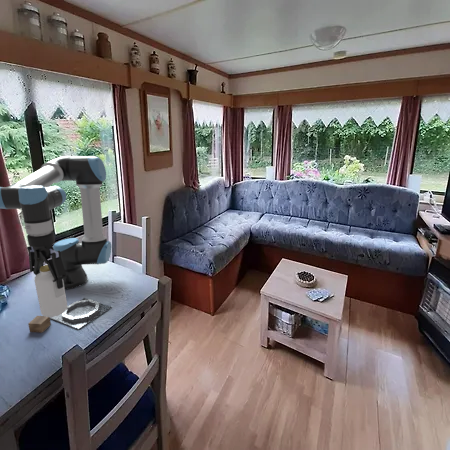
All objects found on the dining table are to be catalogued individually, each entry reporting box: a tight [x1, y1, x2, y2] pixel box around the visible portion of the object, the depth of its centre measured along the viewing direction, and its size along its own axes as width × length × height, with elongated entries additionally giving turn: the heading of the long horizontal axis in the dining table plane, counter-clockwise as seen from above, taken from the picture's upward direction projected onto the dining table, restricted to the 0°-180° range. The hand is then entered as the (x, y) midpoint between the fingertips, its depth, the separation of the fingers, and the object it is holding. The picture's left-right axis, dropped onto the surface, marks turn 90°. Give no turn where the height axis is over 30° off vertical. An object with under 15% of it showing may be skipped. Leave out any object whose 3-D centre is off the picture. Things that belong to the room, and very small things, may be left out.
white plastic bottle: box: [33, 264, 68, 317], centre depth 98 cm, size 8×8×18 cm
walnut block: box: [27, 315, 52, 333], centre depth 108 cm, size 5×5×4 cm
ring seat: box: [50, 297, 113, 331], centre depth 118 cm, size 17×17×2 cm
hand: (51, 292), depth 98 cm, fingers closed on white plastic bottle, 8 cm apart
